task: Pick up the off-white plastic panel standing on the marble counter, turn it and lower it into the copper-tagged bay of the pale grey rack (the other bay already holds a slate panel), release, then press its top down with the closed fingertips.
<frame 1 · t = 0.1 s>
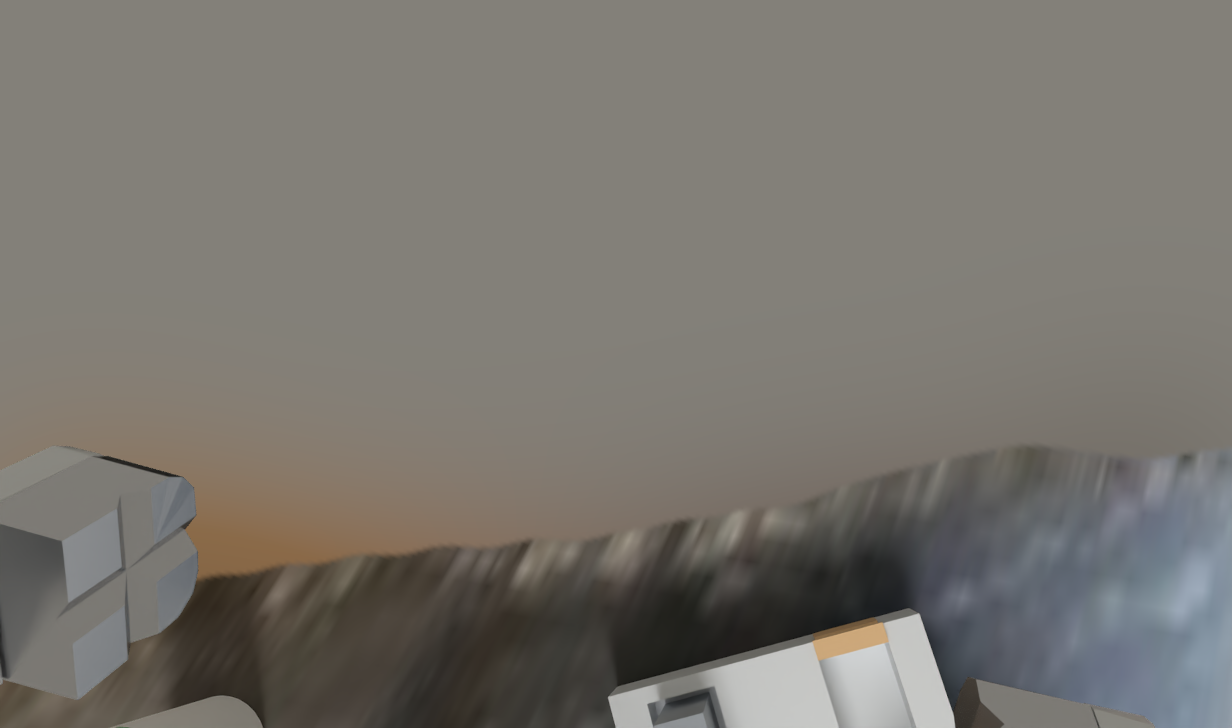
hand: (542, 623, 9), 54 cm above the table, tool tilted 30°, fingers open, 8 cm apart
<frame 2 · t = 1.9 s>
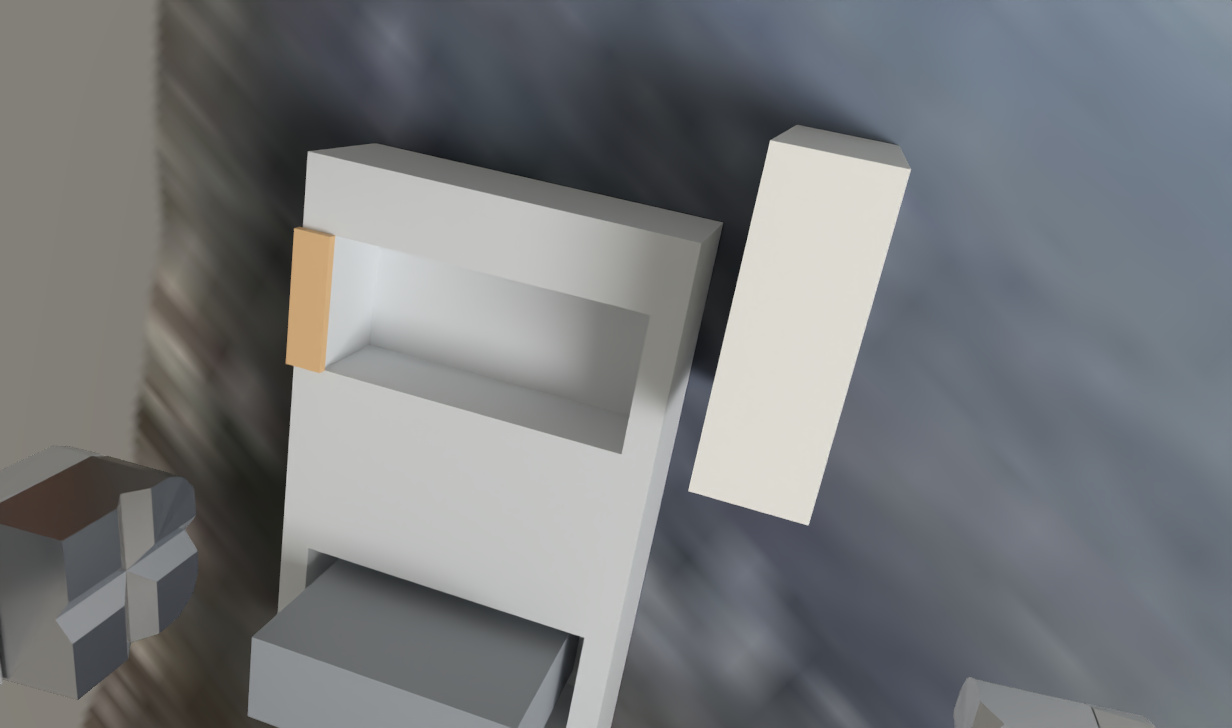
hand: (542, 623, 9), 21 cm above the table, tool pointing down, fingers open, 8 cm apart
rack: (500, 457, 33), on the table
panel: (811, 275, 28), on the table
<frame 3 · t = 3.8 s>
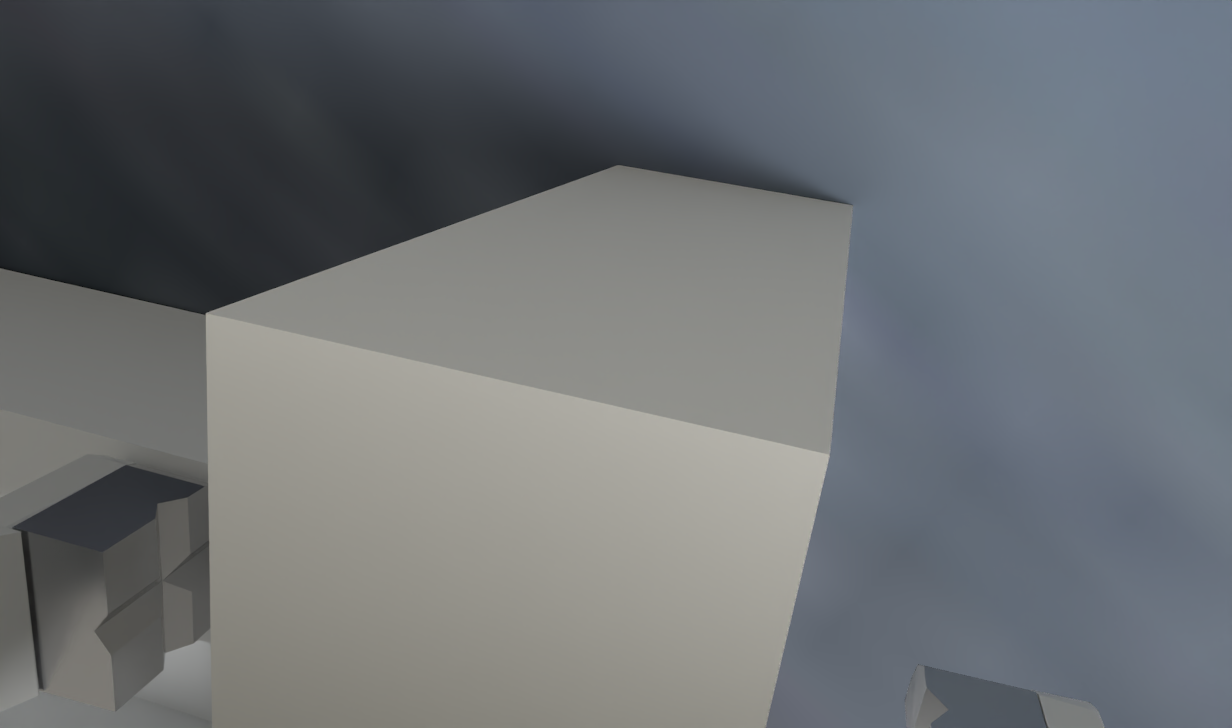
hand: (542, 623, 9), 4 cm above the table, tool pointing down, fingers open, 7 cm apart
panel: (679, 487, 13), on the table
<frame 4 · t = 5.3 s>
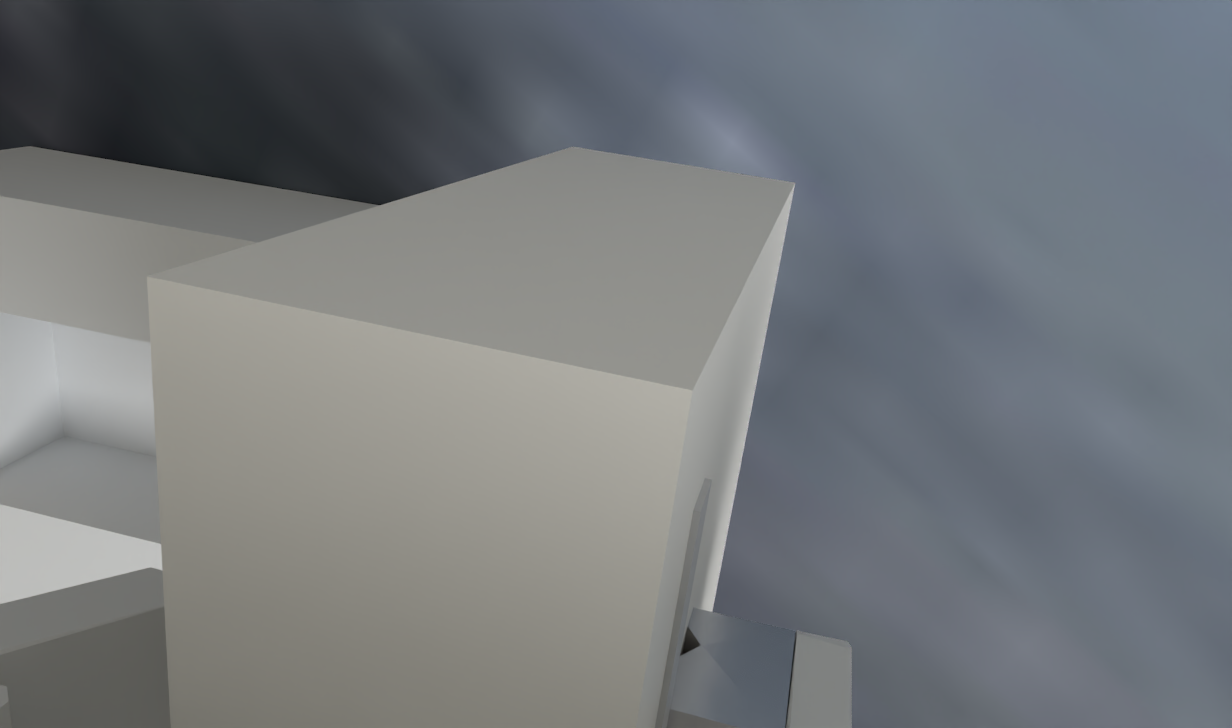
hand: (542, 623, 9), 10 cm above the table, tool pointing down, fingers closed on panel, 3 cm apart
rack: (276, 574, 23), on the table
panel: (637, 457, 13), point 6 cm above the table, touching gripper
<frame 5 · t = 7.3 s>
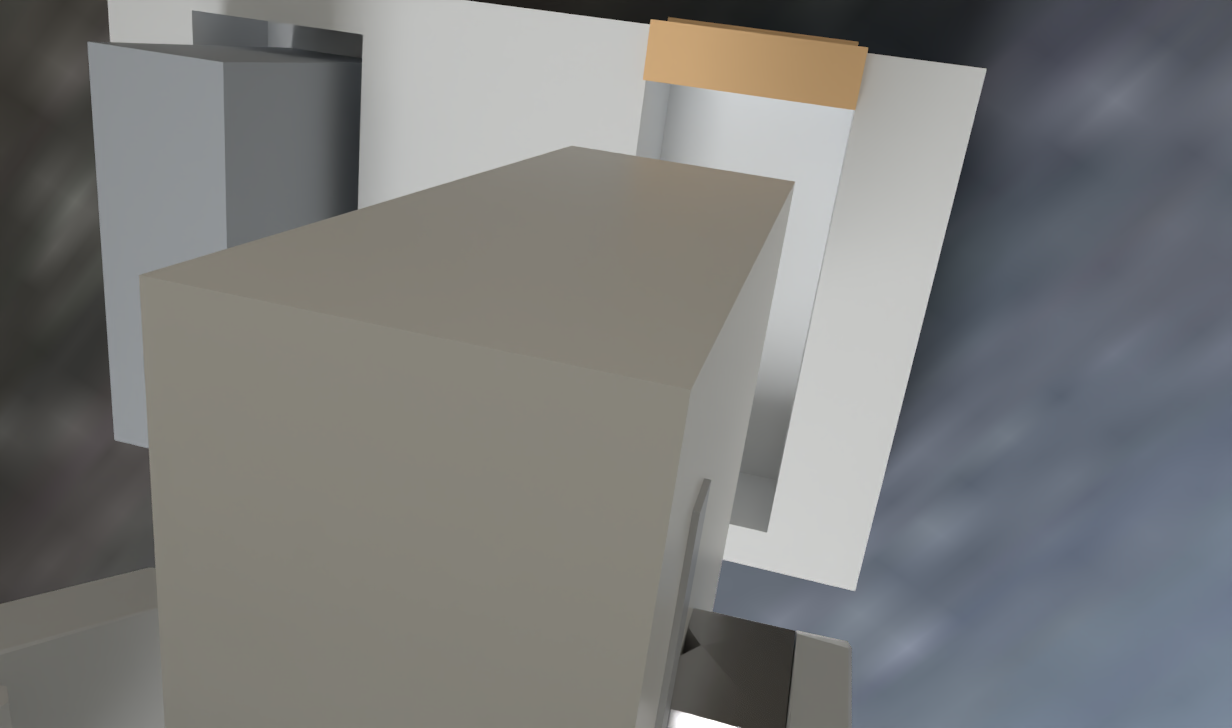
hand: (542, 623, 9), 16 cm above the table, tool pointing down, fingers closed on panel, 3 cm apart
rack: (536, 244, 25), on the table
panel: (637, 457, 13), point 12 cm above the table, touching gripper
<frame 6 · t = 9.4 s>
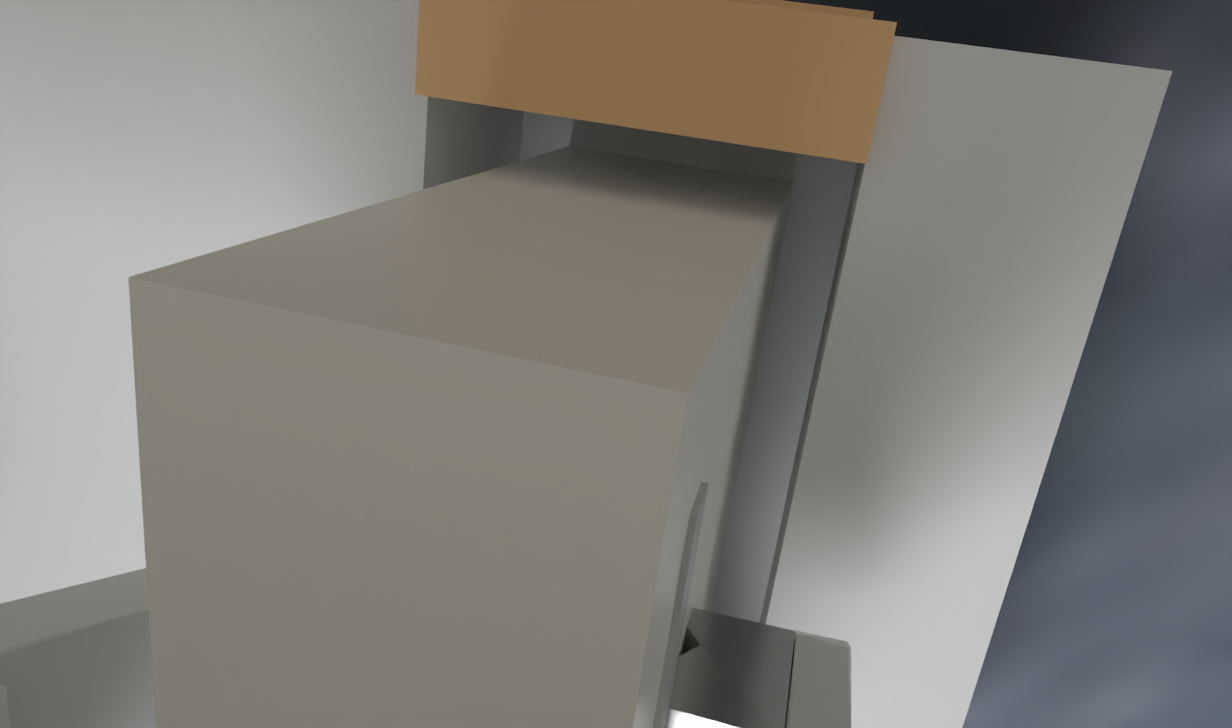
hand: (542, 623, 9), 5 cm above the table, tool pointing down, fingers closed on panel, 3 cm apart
rack: (333, 360, 15), on the table
panel: (635, 459, 13), point 1 cm above the table, touching gripper, rack
when the fingers open (5 cm above the table, at t = 9.4 s): panel stays where it is, resting on rack.
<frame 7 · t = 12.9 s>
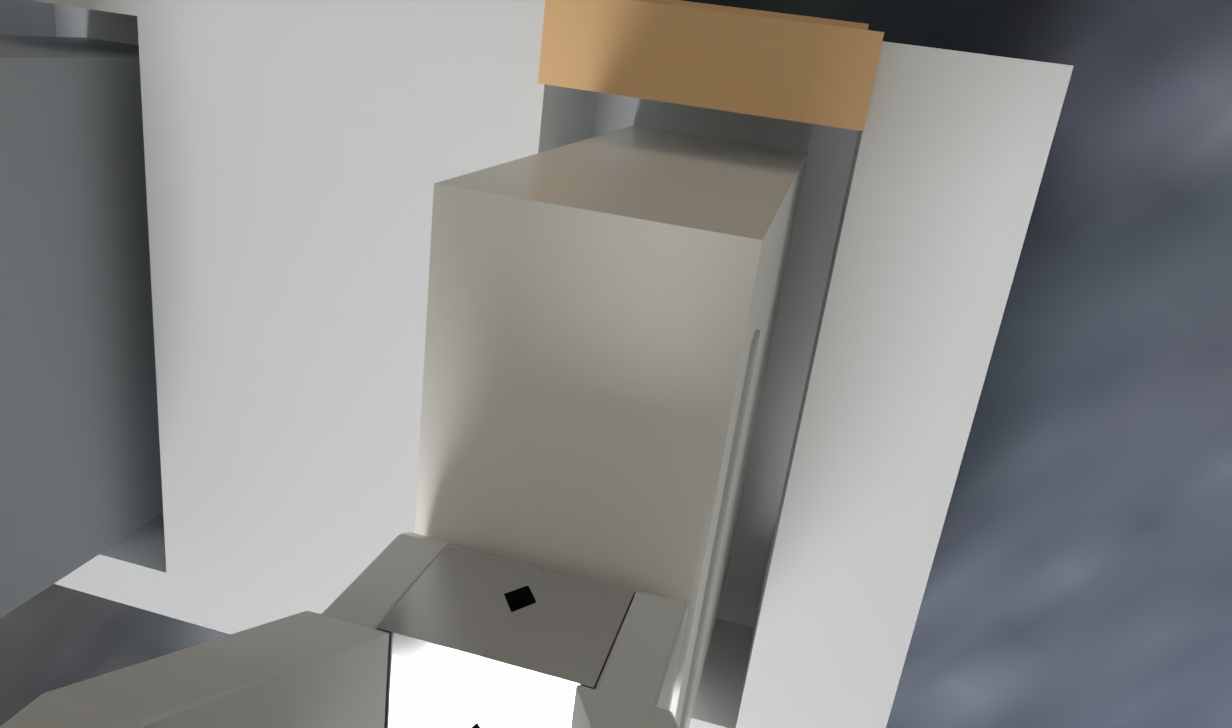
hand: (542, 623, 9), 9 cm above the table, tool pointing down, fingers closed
rack: (430, 303, 19), on the table
panel: (680, 375, 17), point 1 cm above the table, touching rack
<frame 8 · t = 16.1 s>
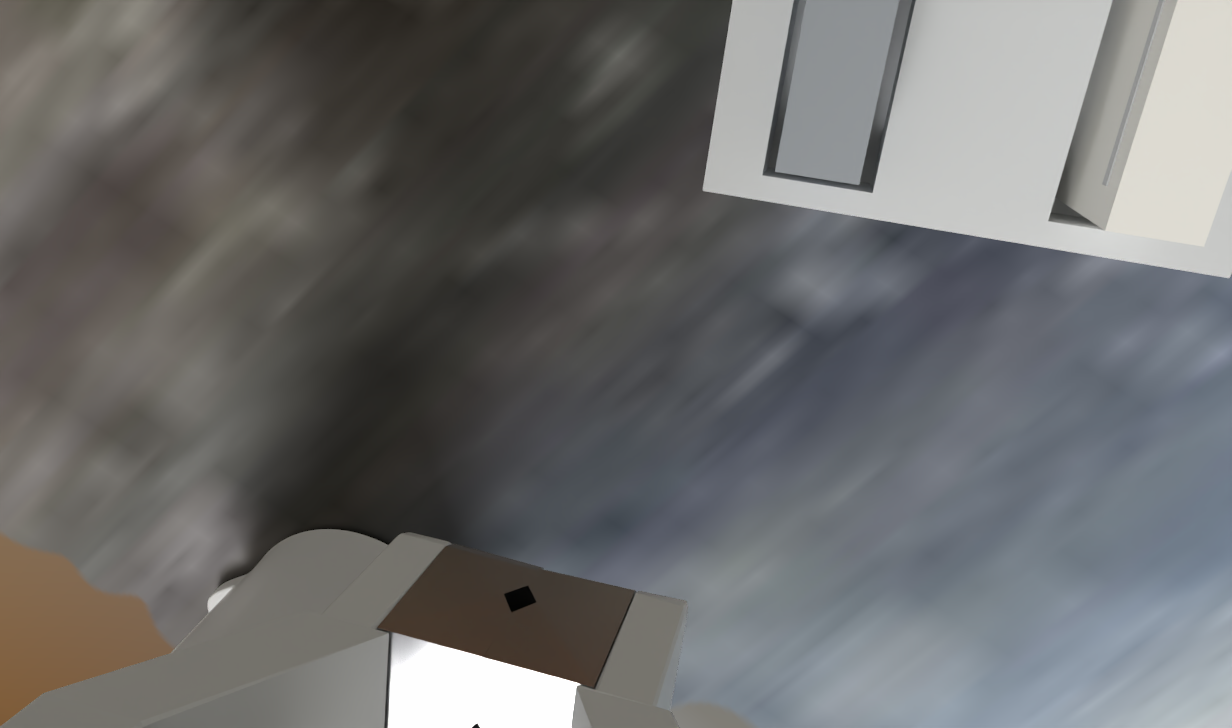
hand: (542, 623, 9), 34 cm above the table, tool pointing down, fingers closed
rack: (979, 71, 37), on the table
panel: (1127, 93, 35), point 1 cm above the table, touching rack
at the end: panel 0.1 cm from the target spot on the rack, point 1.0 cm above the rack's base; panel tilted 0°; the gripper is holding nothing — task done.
